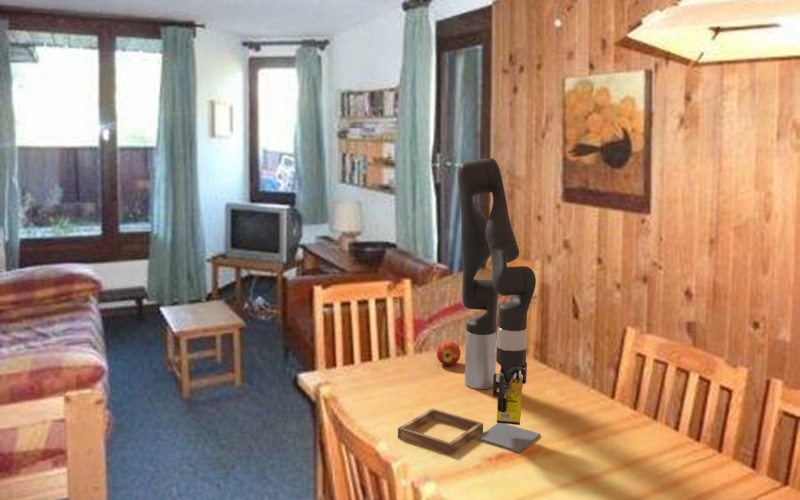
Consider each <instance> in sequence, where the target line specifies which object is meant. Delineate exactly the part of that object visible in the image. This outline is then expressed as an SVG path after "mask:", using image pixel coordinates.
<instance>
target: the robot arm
mask: <svg viewBox="0 0 800 500" xmlns="http://www.w3.org/2000/svg"><path fill="white" fill-rule="evenodd" d="M457 184H458V193H459V203H460V204H459V206H460V215H461V216H460V219H461V221H460V222H461V223H460V224H461V225H460V226H461V229H460V230H461V232H460V235H461V236H460V238H461V239H460V240H461V255H462V285H461V286H462V287H461V291H462V293H461V296H462V298H461V299H462V304H463V306H464V307H465V308H466V309H469V310H479V311H481V310H482V311H486V312H485V313H484V314H481V315H480V316H476V317H472V318H471V319H469V320H467V322H466V325H465V331H466V332H465V357H464V358H465V361H464V362H465V363H464V364H465V365H464V385H466V387H468V388H471V389H477V390H479V389H480V390H484V389H490V388H492V397H495V398H497V401H498V406H497V405H496V406H497V407H496V408H497V409H496V410H498V411H500V412H503V413H504V412H506V410H507V395H508V391H510V390H511V388H512V383H513V381H514V380H515V379H517V378H518V379H520V378H522V389H523V387H524V385H525V384H526V383H527V376H528V375H527V372H528V362H527V352H528V351H527V348H528V333H527V327H528V326H527V325H528V311H529V309H530V304H531V301H532V298H533V296H534V292H535V290H536V284H537V282H536V281H537V280H536V279H537V278H536V275H535V272H534V271H533V269H532V268H531V267H530V266H527V265H526V266H525V265H519V266H508V264H509V263H511V262H514V261H515V260H517V258H518V257H519V256H520V249H519V246H518V243H517V240H516V237H515V234H514V230H513V227H512V223H511V219H510V216H509V210H508V203H507V197H506V192H505V188H504V187H505V186H504V182H503V176H502V173H501V169H500V167H499V164H498V162H497V161H496V160H495V159H494V158H492V157H488V158H487V157H486V158H482V159H481V158H480V159H475V160H470V161H469V160H468V161H464V162H462V163H460V164H459V166H458V169H457ZM483 194H492V195H491V196H492V207H491V211H490V212H489V217H488V218H487V217H486V216H485V215H484V214H483V213H482V212H481V211H480V210H479V209H478V207H477V206H476V204H475V203H474V199H473V198H474V196H478V195H483ZM490 257H491V265H492V266H491V267H492V276H491V277H492V278H491V279H481V278H480V279H478V278H477V279H475V278H476V277H475V276H476V275H477V273H478V271H479V270H480V268H482V266H484V264H485V263H486V262H487V261H488V260H489V259H490ZM499 296H502V297H503V296H504V297H506V296H513V297H512V299H511V300H510V301H508V302H505V303H503V304H501V305H500V306H499V308H498V302H499V301H498V300H499ZM497 311H498V319H497ZM497 320H498V322H497ZM497 323H498V326H497ZM496 363H497V364H498V365H500V370H499V373H496V366H497V365H496ZM504 382H506V383H509V384H508V385H507V386H506V385H504ZM504 389H505V392H504Z"/></svg>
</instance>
